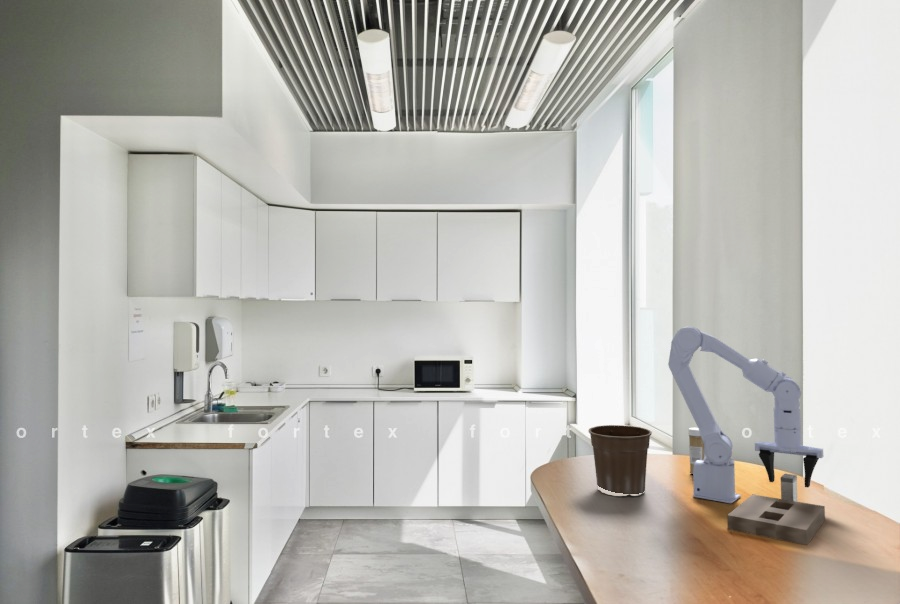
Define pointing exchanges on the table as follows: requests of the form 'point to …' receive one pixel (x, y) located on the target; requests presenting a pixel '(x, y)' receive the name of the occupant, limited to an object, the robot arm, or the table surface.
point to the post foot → (777, 518)
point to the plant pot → (620, 457)
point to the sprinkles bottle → (695, 447)
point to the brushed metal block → (789, 487)
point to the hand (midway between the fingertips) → (789, 483)
